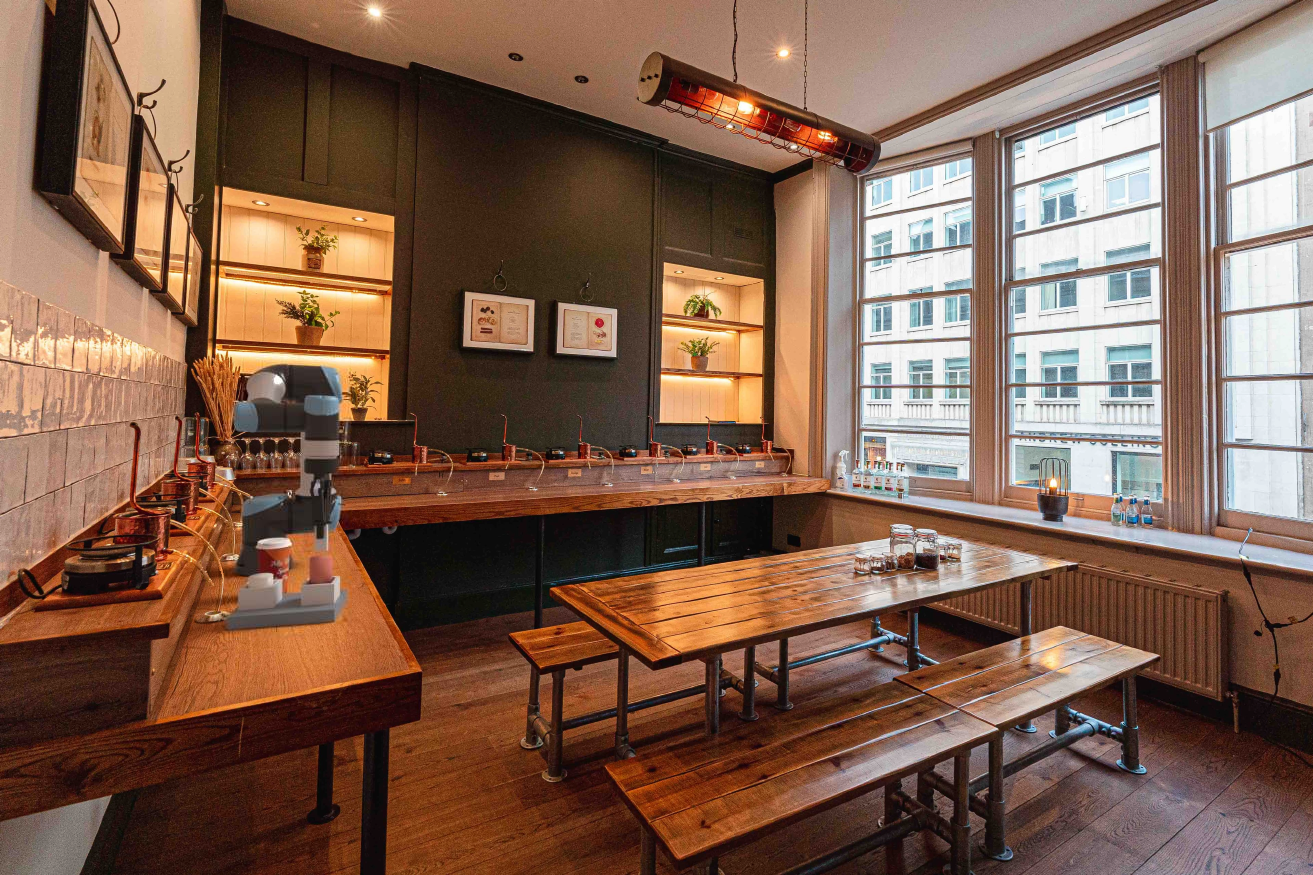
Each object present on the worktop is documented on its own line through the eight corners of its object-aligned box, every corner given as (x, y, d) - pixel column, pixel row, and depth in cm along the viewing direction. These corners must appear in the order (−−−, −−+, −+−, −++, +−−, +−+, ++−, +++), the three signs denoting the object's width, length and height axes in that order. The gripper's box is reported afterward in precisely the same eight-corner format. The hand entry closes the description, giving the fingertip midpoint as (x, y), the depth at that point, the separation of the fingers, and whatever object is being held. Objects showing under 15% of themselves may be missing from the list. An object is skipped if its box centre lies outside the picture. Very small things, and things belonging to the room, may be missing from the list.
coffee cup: (278, 599, 153) (278, 544, 152) (248, 598, 153) (248, 543, 152) (298, 590, 161) (298, 537, 161) (269, 589, 161) (270, 536, 161)
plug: (252, 601, 142) (252, 573, 142) (275, 599, 144) (275, 572, 144) (245, 608, 138) (245, 579, 137) (269, 606, 139) (269, 578, 139)
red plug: (312, 582, 146) (312, 555, 146) (334, 581, 148) (334, 554, 148) (307, 588, 142) (307, 560, 141) (330, 586, 143) (330, 559, 143)
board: (250, 607, 147) (250, 576, 147) (346, 600, 154) (347, 571, 154) (226, 629, 132) (226, 595, 131) (334, 621, 139) (334, 588, 139)
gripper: (311, 455, 148) (310, 545, 149) (297, 459, 136) (297, 557, 137) (343, 455, 151) (343, 544, 152) (333, 459, 138) (332, 556, 139)
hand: (321, 550), depth 144 cm, fingers closed
